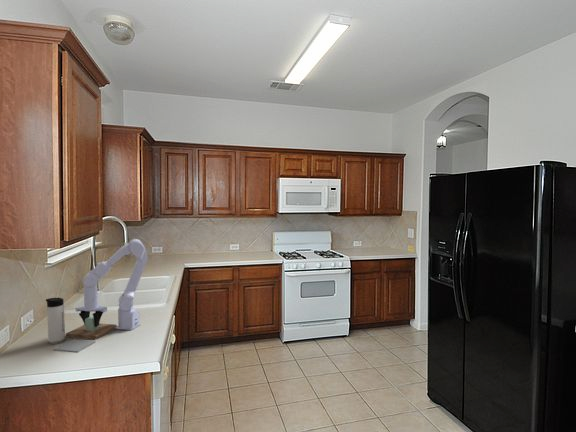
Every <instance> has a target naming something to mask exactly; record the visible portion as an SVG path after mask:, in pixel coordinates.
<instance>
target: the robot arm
mask: <svg viewBox="0 0 576 432" xmlns="http://www.w3.org/2000/svg"><path fill="white" fill-rule="evenodd" d="M131 253H132V254H133V255H134V257H135V259H136V262H135V264H134V267H133V269H132V272H131V274H130V277H129V279H128V282H127V284H126V287H125V289H124V291H123V293H122V294H121V295H120V296H119V298H118V308H117V319H118V320H117V323H118V324H117V327H115V328H114V329H113V330H128V331H132V330H135V328H137V327H138V326H141V319H140V318H141V317H140V315H141V314H140V310H138V309H135V306H134V297H135V293H136V291H137V288H138V285H139V283H140V281H141V277H142V275H143V273H144V269H145V267H146V265H147V262H148V260H149V258H148V253H147V250H146V247H145V245H144V244H143V242H142V240H140V239H138V238H133V239H131V240H130V241H128V242H127V243H125V244H124V245H122V246H121V247H120V248H119V249H118V250H117V251H115V253H113V254H112V256H111V257H109V259H108V260H106V261H101V262H98V263H97V264H96V266H95V267H93V269H92V270H89V271H88V273H87V274H85V275H84V277H83V279H82V283H83V298H84V299H83V304H84V306H83V305H82V306H77V307H75V312H76V313H78V312H79V313H78V315H79V317H80V318H81V319H82V322H83V325H85V319H86V318H88V317H90V313H91V312H94V313H92V316H93V317H94V324H95V327H97V326H99V323H100V321H101V318H102V316H103V314H104V313H106V312H108V307H107V306H101V305H99V298H98V297H99V296H98V295H99V292H98V284H97V283H98V280H99V281H100V280H101V279H103V277H105V276H106V275H107V274H108V273H109V272H111V270H112V266H113V265H114V264H116V263H117V262H118V261H119V260H120V259H122V258H123V257H124V256H128V255H131Z"/></svg>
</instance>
